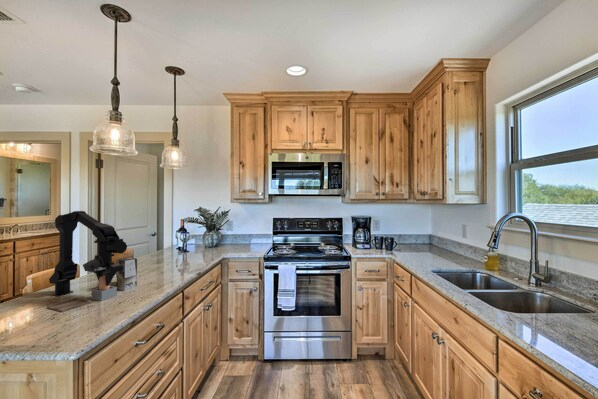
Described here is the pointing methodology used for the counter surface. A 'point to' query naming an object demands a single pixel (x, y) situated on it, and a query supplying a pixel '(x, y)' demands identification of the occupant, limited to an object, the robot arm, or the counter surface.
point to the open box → (104, 293)
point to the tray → (69, 304)
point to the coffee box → (127, 274)
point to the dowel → (103, 284)
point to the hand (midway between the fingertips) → (104, 285)
